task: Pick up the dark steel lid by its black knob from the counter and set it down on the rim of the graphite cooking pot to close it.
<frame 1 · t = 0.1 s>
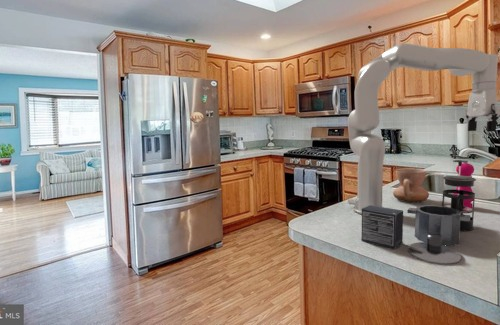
hand: (481, 131, 121), 31 cm above the worktop, tool pointing down, fingers open, 9 cm apart
small box: (381, 242, 93), on the worktop
pot: (436, 238, 94), on the worktop
pepper mill: (462, 207, 125), on the worktop
french press: (456, 227, 103), on the worktop
lid: (433, 255, 84), on the worktop
ceramic jug: (409, 201, 138), on the worktop
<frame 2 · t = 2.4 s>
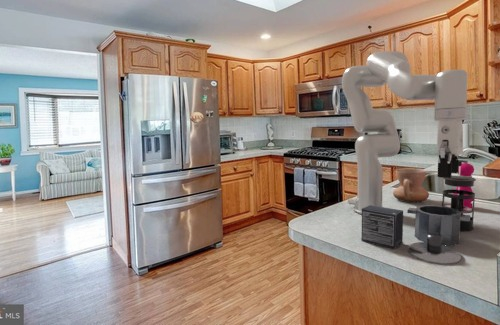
hand: (448, 175, 87), 21 cm above the worktop, tool pointing down, fingers open, 9 cm apart
nothing on the worktop moved.
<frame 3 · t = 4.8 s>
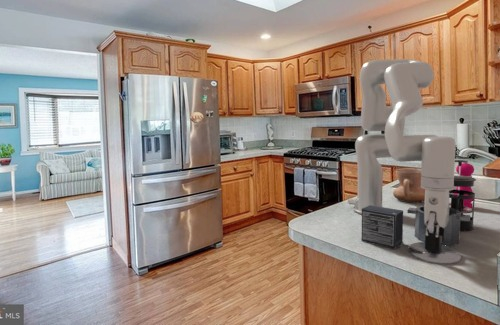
hand: (434, 244, 83), 3 cm above the worktop, tool pointing down, fingers open, 8 cm apart
nothing on the worktop moved.
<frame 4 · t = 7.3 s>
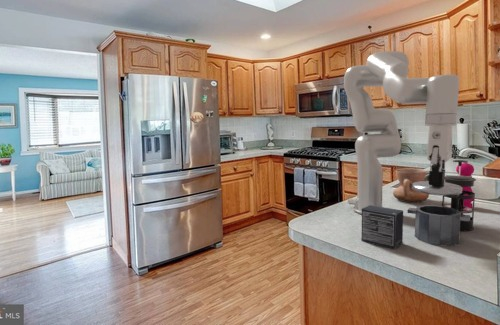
hand: (436, 183, 88), 18 cm above the worktop, tool pointing down, fingers closed on lid, 3 cm apart
lid: (436, 189, 88), point 17 cm above the worktop, touching gripper
everything else where it was.
when the fingers open (12 cm above the worktop, at t = 9.2 s): lid drops 1 cm, resting on pot.
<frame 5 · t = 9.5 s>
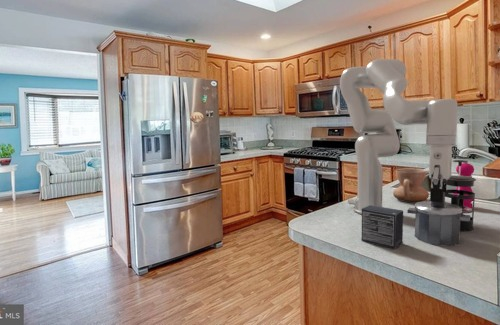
hand: (438, 198, 93), 13 cm above the worktop, tool pointing down, fingers open, 7 cm apart
lid: (437, 210, 93), point 9 cm above the worktop, touching pot
everything else where it was.
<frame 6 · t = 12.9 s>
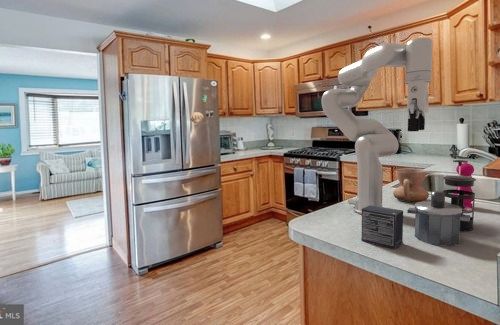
hand: (416, 130, 101), 33 cm above the worktop, tool pointing down, fingers open, 9 cm apart
nothing on the worktop moved.
at the end: lid 0.1 cm off-centre on the pot, point 9.0 cm above the pot's base; lid tilted 0°; the gripper is holding nothing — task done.
